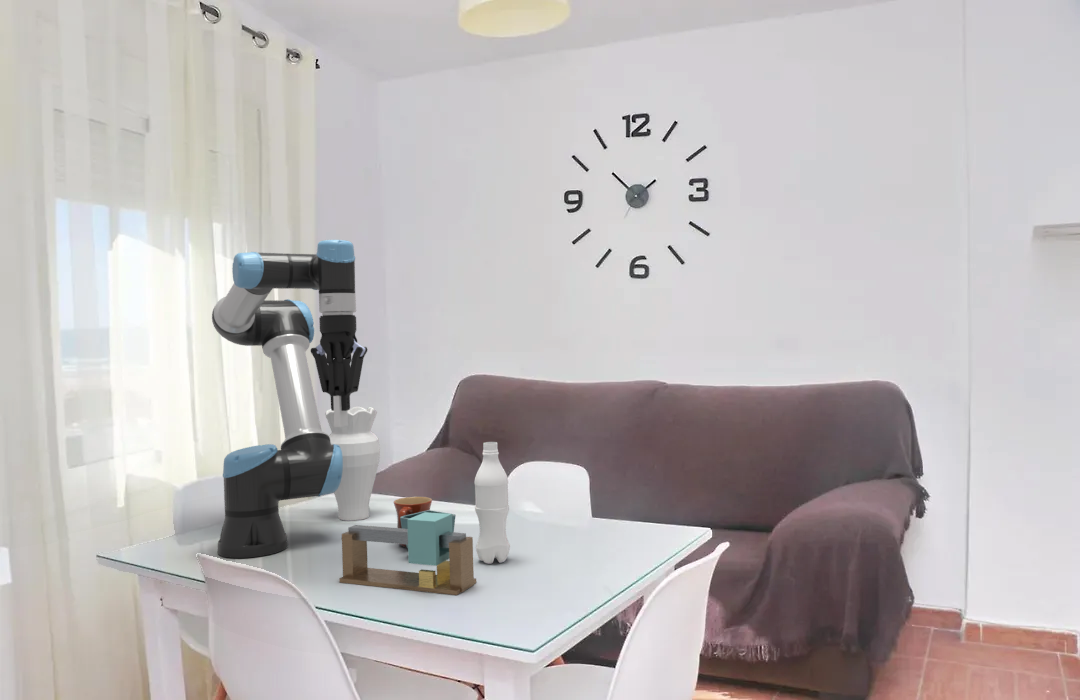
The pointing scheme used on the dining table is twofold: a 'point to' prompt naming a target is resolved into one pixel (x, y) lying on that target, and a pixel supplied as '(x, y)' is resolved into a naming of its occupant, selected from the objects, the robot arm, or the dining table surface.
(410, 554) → the block
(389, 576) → the rail
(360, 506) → the vase
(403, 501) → the mug
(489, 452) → the water bottle
